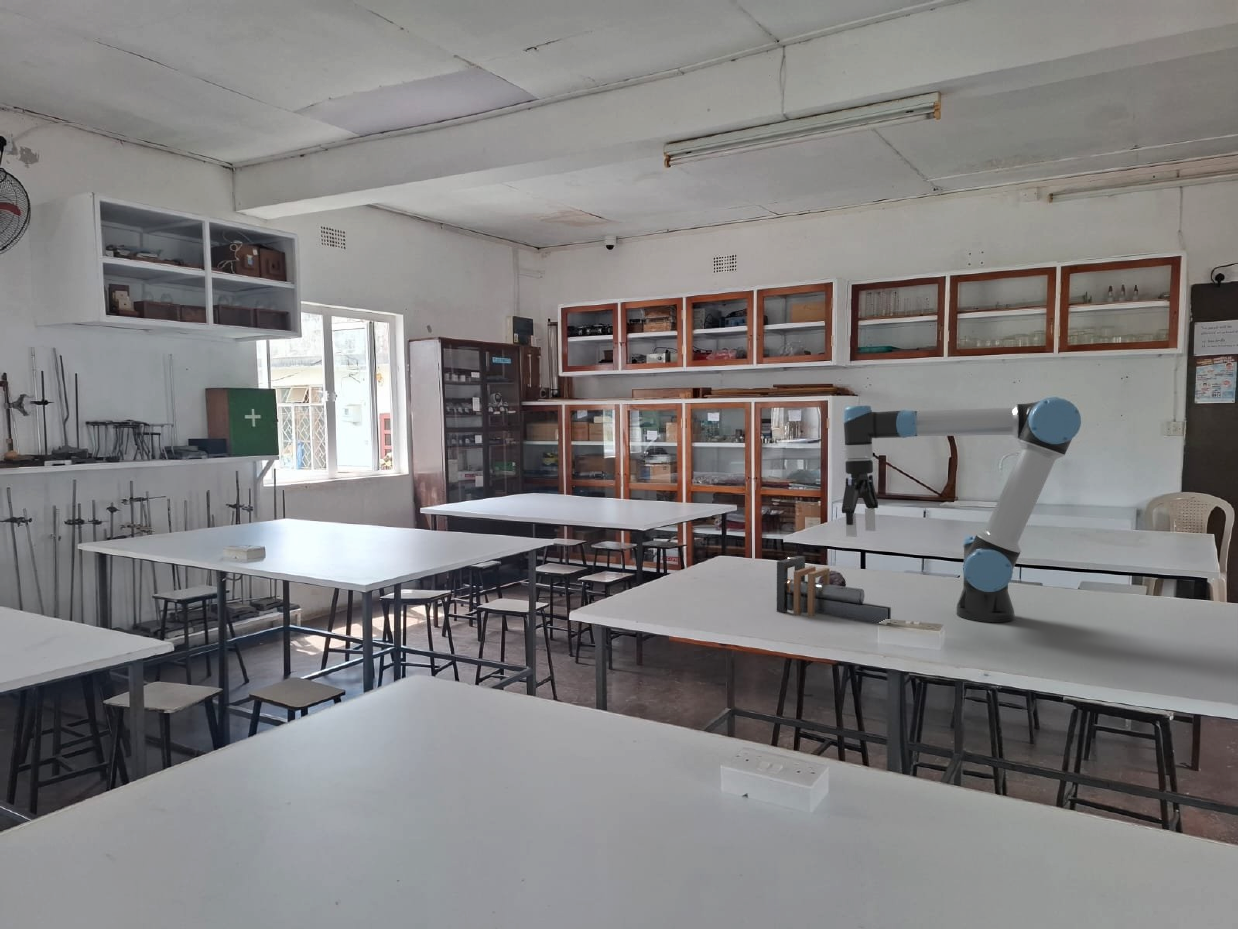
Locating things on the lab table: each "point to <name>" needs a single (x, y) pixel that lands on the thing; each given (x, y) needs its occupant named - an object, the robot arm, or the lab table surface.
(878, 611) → the rail cradle
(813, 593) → the collar
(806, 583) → the tube
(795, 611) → the collar
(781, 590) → the dark grey u-shaped frame
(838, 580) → the rock
